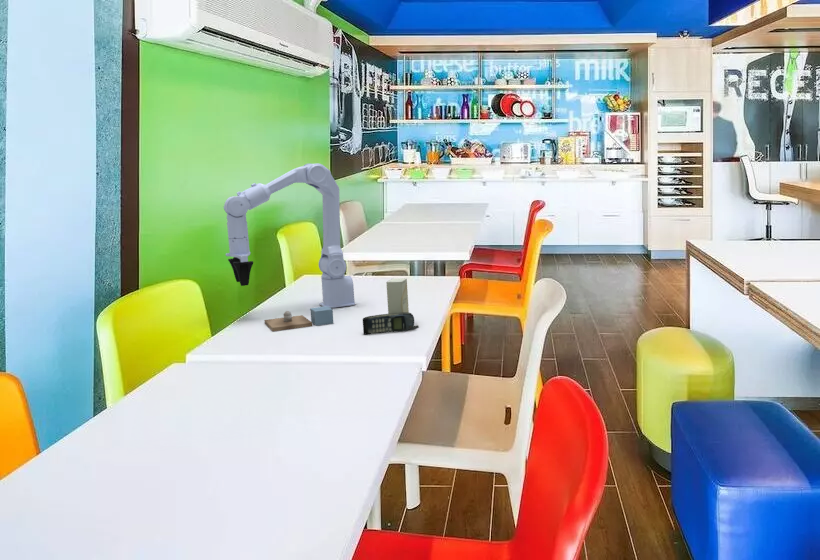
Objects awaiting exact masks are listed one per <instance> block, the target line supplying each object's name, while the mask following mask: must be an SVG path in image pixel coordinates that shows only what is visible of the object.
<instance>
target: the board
mask: <svg viewBox="0 0 820 560" xmlns="http://www.w3.org/2000/svg"><path fill="white" fill-rule="evenodd" d="M264 324H265V325H266V327H268V328H269V329H270V330H271V331H272V332H280V331H286V330H293V329H302V328H309V327H313V323H312V322H311V320H309V319H308V318H307V317H305V316H304V315H302V314H301V315H295V316H294V315H292V312H291V311H289V310H285V311H284V312H283V317H278V318H270V319H264Z"/></svg>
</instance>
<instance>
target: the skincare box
mask: <svg viewBox="0 0 820 560" xmlns="http://www.w3.org/2000/svg"><path fill="white" fill-rule="evenodd" d="M407 279H408V278H407V277H406V278H405V277H404V278H403V277H402V278H401V277H400V278H398V277H397V278H394V277H393V278H391V279H389V280H387V281H386V294H387V296H386V297H387V312H388V313H387V314H390V313H400V312H409V313H410V308H409V297H408V280H407Z"/></svg>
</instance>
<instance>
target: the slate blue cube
mask: <svg viewBox="0 0 820 560" xmlns="http://www.w3.org/2000/svg"><path fill="white" fill-rule="evenodd" d="M333 313H334V312H333V308H330V307H328V306H325V307H323V306H317V307H310V321H311V322H312V325H315V326H316V327H317V326H323V325H324V326H325V325H330V324H334V314H333Z"/></svg>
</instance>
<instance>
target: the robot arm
mask: <svg viewBox="0 0 820 560" xmlns="http://www.w3.org/2000/svg"><path fill="white" fill-rule="evenodd" d="M296 183H297V184H298V183H301V184H306V185H309V186H311V187H313V188H314V189H316V190H317V192H318V193H320V194H321V195H322V235H323V237H322V239H323V242H322V243H323V245H322V249H321V254H320V258H319V260H318V268H319V271H320V272H321V273H322V275H321V277H320V278H321V291H322V302H318V304H319V305H320V307H325V306H328V307H330V308H331V309H333V308H334V309H335V308H340V307H341V308H342V307H349V306H355V305H356V303H355V291H354V290H355V287H354V281H353V277H352V276H350V275H346V274H345V273H346V270H347V264H346V263H347V262H346V261H345V258H344V252H343V250H342V246H341V222H340V221H341V218H340V217H341V214H340V213H341V210H340V209H341V208H340V186H339V185H338V184H337V182H336V180H335V178H334V177H333V175H332V172H331V170H330V169H328V167H326V166H325V165H324V164H322V163H318V162H317V163H310V162H309V163H305V164H304V165H301V166H298V167H295V168H293V169H291V170H289V171H287V172H286V173H284V174H282V175H280V176H278V177H276V178H275V179H273V180H271V181H269V182H268V183H265V184H263V183H261V182H258V183H256V182H253V183H252V184H251V185H250V187H249V188H246V189H244V190H243V191H240V190H239V191H237V192H236V194H237V195H233V196H229V197H228V198H227V199H226V200H225V202H224V204H223V210H224V211H225V213H226V225H227V238H228V248H229V252H226V253H225V256H226V257H231V258H228V259H227V261H228V262H229V264H230V266H231V268H232V271H233V275H234V278H235V281H236V283H239V284H240V286H241V287H246V286H249V283H250V277H251V270H252V267H253V264H254V261H252V260H251V261H249V259H248V258H249V256H251V250H250V241H249V231H248V230H249V227H248V221H247V213H248V211H251V210H253V209H255V208H257V207H259V206H261V205H262V204H264V203H267V202H268V201H269V200H270V199H271V198H270V197H271V195H272V194H274V193H276V192H278V191H281V190H283V189H285V188H286V187H289V186H292V185H293V184H296Z"/></svg>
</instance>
